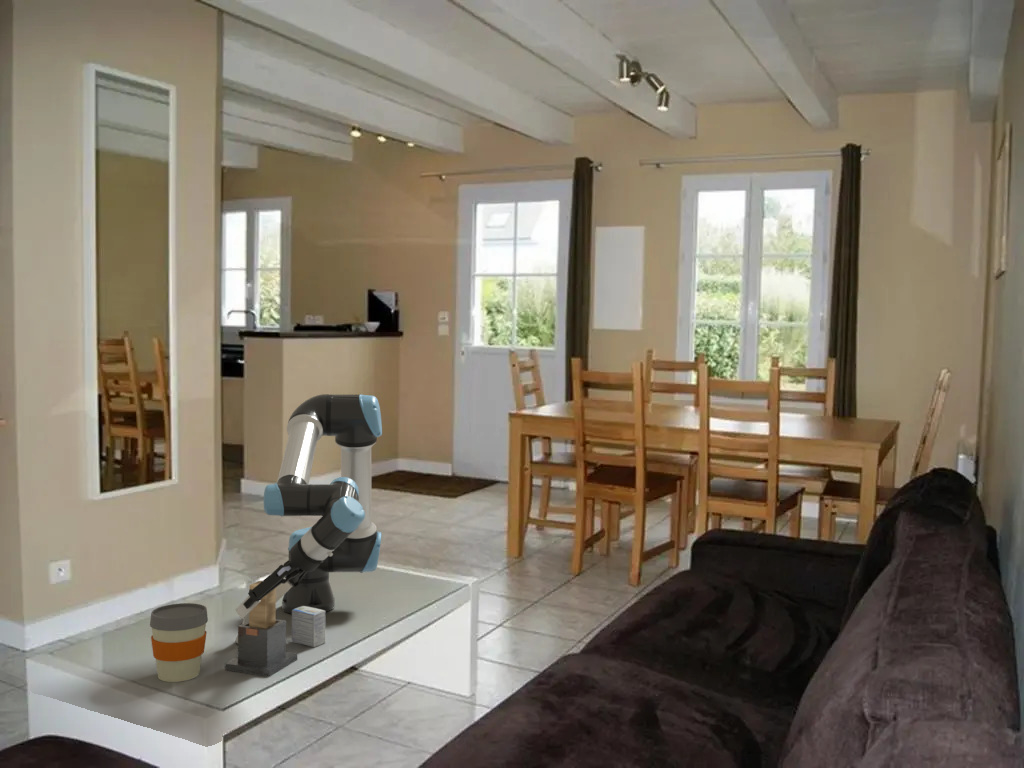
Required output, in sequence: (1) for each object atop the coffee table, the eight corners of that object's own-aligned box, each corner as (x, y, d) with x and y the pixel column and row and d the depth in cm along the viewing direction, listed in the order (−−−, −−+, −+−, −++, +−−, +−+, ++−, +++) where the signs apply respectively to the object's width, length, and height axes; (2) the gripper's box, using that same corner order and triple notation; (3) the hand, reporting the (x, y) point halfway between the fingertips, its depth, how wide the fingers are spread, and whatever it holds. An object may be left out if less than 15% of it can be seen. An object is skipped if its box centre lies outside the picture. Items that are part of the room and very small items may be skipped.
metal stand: (254, 653, 220) (255, 613, 220) (297, 659, 216) (297, 619, 216) (225, 669, 209) (225, 627, 208) (269, 676, 205) (270, 633, 205)
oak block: (259, 653, 215) (259, 580, 215) (276, 656, 214) (276, 582, 213) (247, 660, 211) (248, 585, 210) (264, 662, 209) (265, 587, 209)
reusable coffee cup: (138, 682, 200) (138, 616, 199) (169, 663, 212) (169, 601, 212) (189, 687, 198) (189, 620, 197) (217, 667, 210) (218, 604, 210)
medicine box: (325, 643, 229) (326, 610, 229) (313, 648, 225) (314, 614, 225) (303, 637, 233) (303, 605, 233) (291, 642, 229) (291, 609, 229)
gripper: (293, 574, 195) (234, 633, 200) (347, 550, 218) (293, 604, 223) (272, 548, 196) (214, 608, 201) (328, 527, 220) (275, 581, 225)
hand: (256, 606), depth 212 cm, fingers open, 13 cm apart
